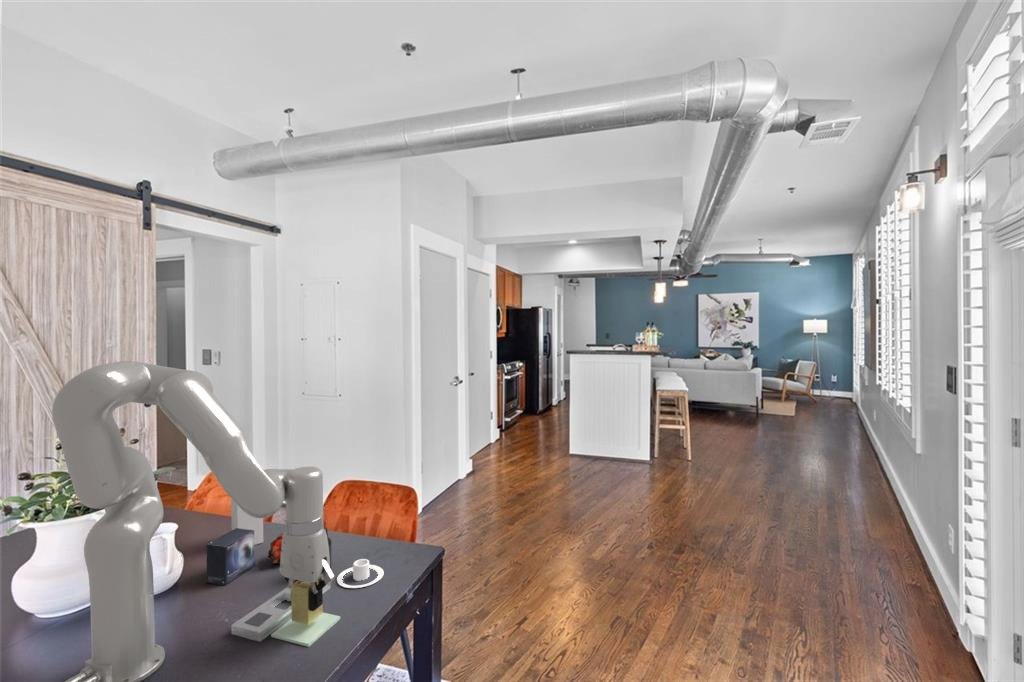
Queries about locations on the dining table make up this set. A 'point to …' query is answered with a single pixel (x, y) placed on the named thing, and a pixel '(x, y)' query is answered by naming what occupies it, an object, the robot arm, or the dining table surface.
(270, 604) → the rail
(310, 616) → the yellow block
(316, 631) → the pad
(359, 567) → the candle holder
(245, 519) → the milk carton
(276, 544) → the dragon fruit
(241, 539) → the small box
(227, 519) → the dining table surface
